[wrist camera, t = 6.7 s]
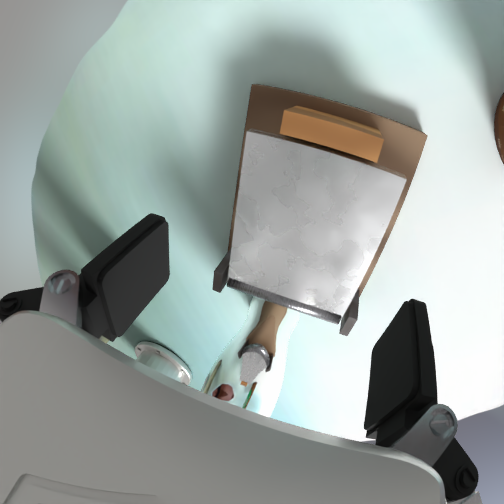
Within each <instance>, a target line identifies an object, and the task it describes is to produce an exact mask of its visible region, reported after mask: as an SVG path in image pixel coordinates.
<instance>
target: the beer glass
mask: <svg viewBox="0 0 504 504" xmlns="http://www.w3.org/2000/svg"><path fill="white" fill-rule="evenodd" d="M299 319H300V312H298V311H295V310H292V309H289V308H286V307H283V306H280V305H277V304H274V303H271V302H269V301H266V300H263V299H260V298H257V297H253V298H252V300H251V303H250V306H249V311H248V315H247V318H246V320H245V322H244V324H243V326H242V327H241V328H240V330H239V331H238V332H237V333H236V335H235V336H234V337H233V338H232V339H231V341H230V342H229V343H228V344H227V346H226V347H225V348H224V349H223V351H222V352H221V354H220V355H219V356H218V358H217V359H216V361H215V363H214V364H213V366H212V368H211V370H210V372H209V374H208V376H207V378H206V380H205V382H204V384H203V387H202V389H201V392H203V393H206V394H208V395H210V396H213V397H215V398H218V399H220V400H223V401H225V402H228V403H230V404H233V405H235V406H238V407H241V408H244V409H246V410H249V411H252V412H255V413H258V414H260V415H263V416H266V417H269V418H270V416H271V414H272V412H273V410H274V407H275V405H276V402H277V400H278V397H279V394H280V391H281V387H282V384H283V379H284V373H285V366H286V357H287V348H288V342H289V338H290V336H291V333H292V332H293V330H294V328H295V327H296V325H297V323H298V321H299Z"/></svg>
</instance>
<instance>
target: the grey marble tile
mask: <svg viewBox="0 0 504 504" xmlns="http://www.w3.org/2000/svg"><path fill="white" fill-rule="evenodd" d="M406 180H407V179H406V177H405V175H404V174H402V173H399V172H397V171H394V170H392V169H389V168H386V167H384V166H381V165H378V164H375V163H372V162H370V161H367V160H364V159H361V158H358V157H355V156H352V155H349V154H346V153H343V152H339V151H336V150H333V149H330V148H326V147H323V146H319V145H316V144H312V143H309V142H305V141H302V140H298V139H294V138H290V137H286V136H282V135H278V134H274V133H270V132H265V131H261V130H256V129H250V130H248V131H247V133H246V140H245V147H244V154H243V161H242V168H241V176H240V183H239V191H238V199H237V206H236V214H235V222H234V230H233V238H232V247H231V255H230V263H229V272H228V281H227V287H229V288H232V289H235V290H237V291H240V292H243V293H246V294H249V295H251V296H254V297H257V298H260V299H263V300H266V301H269V302H271V303H274V304H277V305H280V306H283V307H286V308H289V309H292V310H295V311H298V312H301V313H304V314H307V315H310V316H313V317H316V318H319V319H322V320H325V321H328V322H332V323H335V324H339V322H340V320H341V319H342V317H343V315H344V313H345V312H346V310H347V308H348V306H349V304H350V302H351V301H352V299H353V297H354V295H355V293H356V291H357V289H358V287H359V285H360V283H361V281H362V279H363V277H364V276H365V274H366V272H367V269H368V267H369V265H370V263H371V261H372V259H373V257H374V255H375V253H376V251H377V249H378V247H379V244H380V242H381V240H382V238H383V236H384V233H385V231H386V229H387V227H388V224H389V222H390V220H391V217H392V215H393V213H394V210H395V208H396V205H397V203H398V200H399V198H400V196H401V193H402V190H403V188H404V185H405V183H406Z"/></svg>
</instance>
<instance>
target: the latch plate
mask: <svg viewBox="0 0 504 504" xmlns="http://www.w3.org/2000/svg"><path fill="white" fill-rule="evenodd" d="M250 129H256V130H261V131H265V132H270V133H274V134H278V135H282V136H286V137H290V138H294V139H298V140H302V141H305V142H309V143H312V144H316V145H319V146H323V147H326V148H330V149H333V150H336V151H339V152H343V153H346V154H349V155H352V156H355V157H358V158H361V159H364V160H367V161H370V162H372V163H375V164H378V165H381V166H384V167H386V168H389V169H392V170H394V171H397V172H399V173H402V174H404V175H405V177H406V179H407V180H406V183H405V185H404V188H403V190H402V193H401V196H400V198H399V200H398V203H397V205H396V208H395V210H394V213H393V215H392V217H391V220H390V222H389V224H388V227H387V229H386V231H385V233H384V236H383V238H382V240H381V242H380V244H379V247H378V249H377V251H376V253H375V255H374V257H373V259H372V261H371V263H370V265H369V267H368V269H367V272H366V274H365V276H364V277H363V279H362V281H361V283H360V285H359V287H358V289H357V291H356V293H355V295H354V297H353V299H352V301H351V302H350V304H349V306H348V308H347V310H346V312H345V313H344V315H343V317H342V320H341V327H340V333H339V334H342V335H346V336H348V334H349V332H350V331H351V329H352V327H353V326H354V324H355V322H356V321H357V317H358V306H359V297H360V295H361V293H362V291H363V289H364V287H365V285H366V283H367V281H368V279H369V277H370V275H371V273H372V271H373V269H374V267H375V265H376V263H377V261H378V259H379V257H380V255H381V253H382V251H383V249H384V246H385V244H386V242H387V240H388V238H389V235H390V233H391V231H392V229H393V226H394V224H395V222H396V219H397V217H398V215H399V212H400V210H401V207H402V205H403V202H404V200H405V197H406V195H407V192H408V190H409V187H410V185H411V182H412V179H413V177H414V174H415V171H416V168H417V165H418V163H419V160H420V157H421V154H422V151H423V148H424V145H425V142H426V139H427V135H426V134H425V133H423V132H421V131H419V130H416V129H414V128H412V127H409V126H407V125H404V124H401V123H399V122H396V121H394V120H391V119H388V118H386V117H383V116H380V115H377V114H374V113H371V112H368V111H365V110H362V109H359V108H356V107H353V106H349V105H346V104H343V103H339V102H336V101H332V100H328V99H325V98H321V97H317V96H313V95H309V94H304V93H300V92H296V91H291V90H286V89H281V88H276V87H271V86H265V85H260V84H252V86H251V92H250V99H249V105H248V111H247V118H246V124H245V131H244V137H243V144H242V151H241V158H240V164H239V171H238V179H237V186H236V193H235V200H234V208H233V215H232V223H231V230H230V238H229V246H228V253H227V254H226V255H225V257H224V258H223V260H222V261H221V262H220V264H219V265H218V266H217V268H216V269H215V271H214V279H213V290H214V291H217V292H221V291H222V289H223V288H224V286H225V285H226V283H227V281H228V272H229V263H230V255H231V247H232V238H233V230H234V222H235V214H236V206H237V199H238V191H239V183H240V176H241V168H242V161H243V154H244V147H245V140H246V133H247V131H248V130H250Z"/></svg>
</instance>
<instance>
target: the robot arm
mask: <svg viewBox="0 0 504 504" xmlns="http://www.w3.org/2000/svg"><path fill="white" fill-rule="evenodd" d="M81 272H82V273H81V274H80V275H79V276H78V275H77V273H75V272H74V271H71V270H60V271H57V272H55V273H53V274H52V275H51V276H49V277H48V279H47V280H46V282H45V284H44V287H41V288H35V289H29V290H23V291H18V292H12V293H9V294H7V295H6V296H4V297H3V298H2V299H1V300H0V504H482V501H481V498H480V494H479V491H478V492H475V488H476V486H477V483H478V471H477V468H476V467H475V465H474V464H473V462H472V461H471V459H470V458H469V457H468V455H467V454H466V453H465V451H464V450H463V448H462V447H461V446H460V444H459V443H458V442H457V440H456V439H455V438H454V436H455V434H456V432H457V427H458V424H457V419H456V416H455V414H454V412H453V411H452V410H451V409H450V408H449V407H448V406H446V405H443V404H438V403H437V383H436V370H435V359H434V350H433V345H432V341H431V333H430V326H429V320H428V313H427V308H426V304H425V303H424V302H421V301H418V300H415V299H411V300H409V302H408V301H405V302H404V303H403V305H402V306H401V308H400V309H399V311H398V312H397V314H396V315H395V317H394V318H393V320H392V321H391V323H390V324H389V326H388V327H387V329H386V330H385V332H384V333H383V334H382V336H381V337H380V339H379V340H378V341H377V343H376V344H375V346H374V348H373V350H372V357H371V370H370V381H369V390H368V399H367V407H366V415H365V422H364V429H365V430H367V434H366V438H371V439H376V444H375V445H373V444H368V443H363V442H358V441H354V440H349V439H345V438H341V437H337V436H333V435H329V434H324V433H321V432H317V431H313V430H309V429H305V428H302V427H298V426H295V425H292V424H288V423H285V422H282V421H279V420H275V419H272V418H269V417H266V416H263V415H260V414H258V413H255V412H252V411H249V410H246V409H244V408H241V407H238V406H235V405H233V404H230V403H228V402H225V401H223V400H220V399H218V398H215V397H213V396H210V395H208V394H206V393H203V392H201V391H199V390H196V389H194V388H192V387H190V386H187V385H189V383H190V382H191V380H192V374H191V371H190V370H189V368H188V367H187V365H186V364H185V363H184V362H183V361H182V360H181V359H180V358H178V357H177V356H176V355H175V354H173V353H172V352H171V351H169V350H167V349H166V348H164V347H162V346H160V345H157V344H155V343H152V342H146V341H143V342H140V343H138V345H137V346H136V347H135V353H136V356H137V359H136V360H135V359H133V358H131V357H129V356H127V355H126V354H124V353H122V352H120V351H119V350H117V349H115V348H113V347H111V346H110V345H108V344H106V343H104V342H103V341H101V340H99V338H100V337H101V336H103V337H105V338H107V339H108V340H110V341H112V342H113V341H114V340H115V339H116V337H120V336H122V335H123V334H124V332H125V331H126V330H127V329H128V327H129V326H130V325H131V324H132V323H133V321H134V320H135V319H136V318H137V317H138V315H139V314H140V313H141V312H142V311H143V309H144V308H145V307H146V306H147V305H148V303H149V302H150V301H151V300H152V299H153V298H154V296H155V295H156V294H157V293H158V292H159V291H160V289H161V288H162V287H163V286H164V285H165V284H166V282H167V281H168V279H169V275H170V271H169V234H168V222H166V220H165V218H164V217H162V216H159V215H156V214H153V213H150V214H149V215H147V216H146V217H145V218H143V219H142V220H141V221H139V222H138V223H137V224H136V225H134V226H133V227H132V228H130V229H129V230H128V231H127V232H125V233H124V234H123V235H122V236H120V237H119V238H118V239H117V240H115V241H114V242H113V243H112V244H111V245H109V246H108V247H107V248H106V249H105V250H103V251H102V252H101V253H100V254H99V255H97V256H96V257H95V258H94V259H93V260H92V261H90V262H89V263H88V264H87V265H86V266H85V267H83V268H82V269H81Z"/></svg>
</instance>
